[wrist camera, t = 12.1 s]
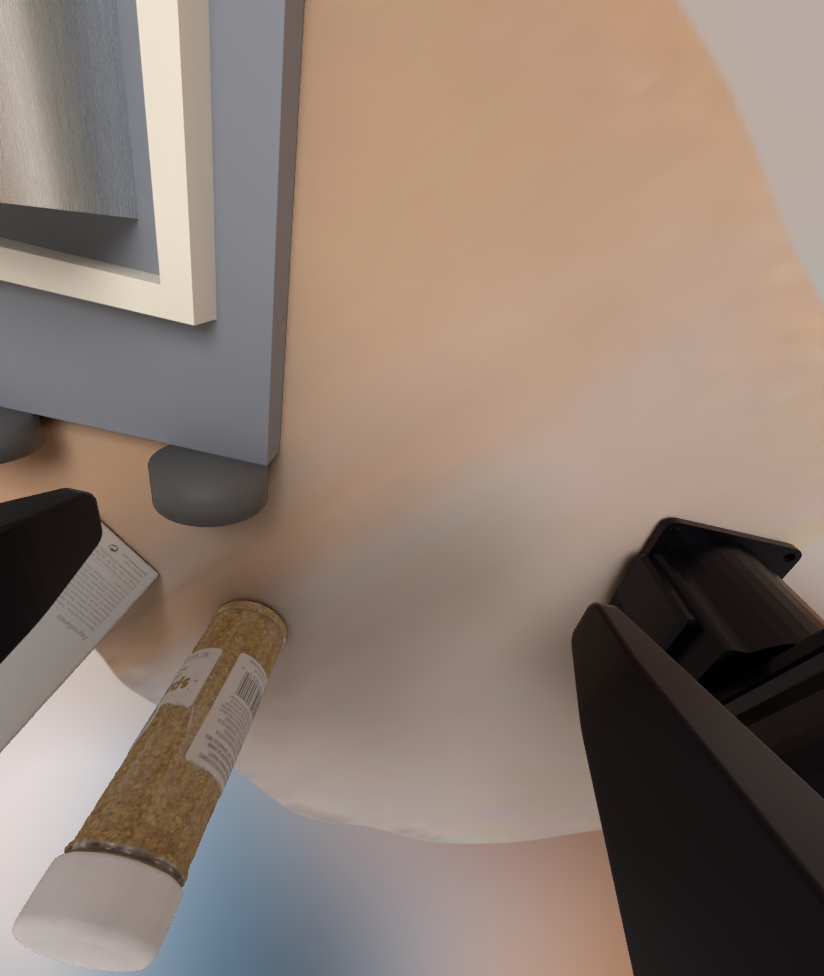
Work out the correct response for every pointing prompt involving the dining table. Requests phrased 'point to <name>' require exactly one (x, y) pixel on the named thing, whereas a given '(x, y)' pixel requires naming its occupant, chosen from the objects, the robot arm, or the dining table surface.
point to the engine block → (64, 108)
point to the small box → (70, 630)
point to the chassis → (171, 264)
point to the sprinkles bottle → (156, 805)
